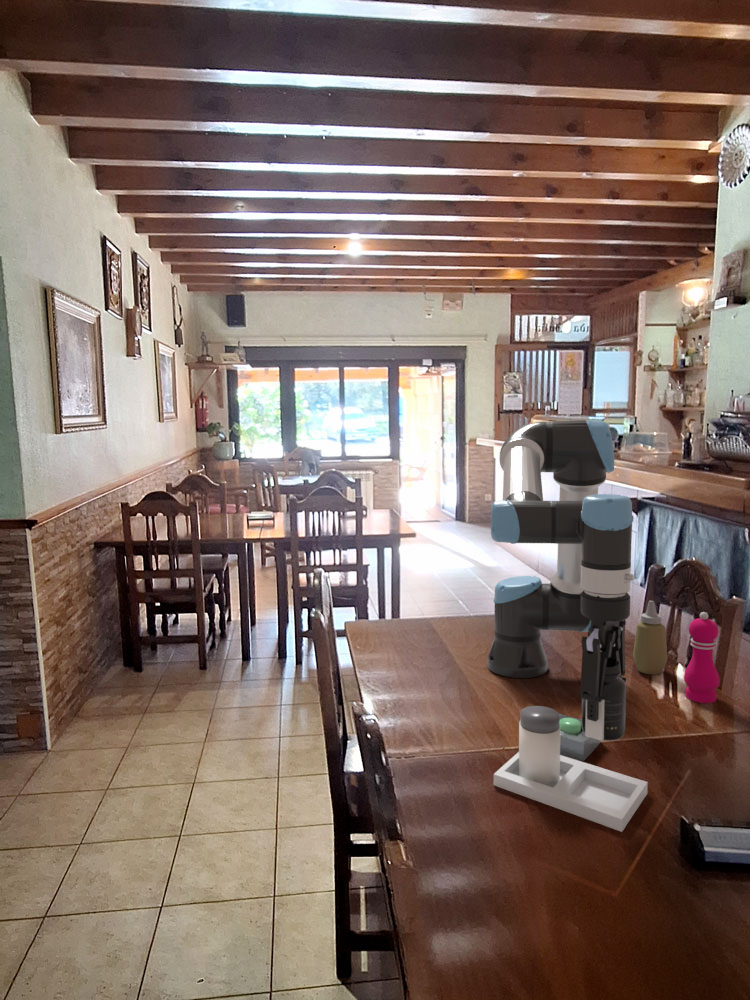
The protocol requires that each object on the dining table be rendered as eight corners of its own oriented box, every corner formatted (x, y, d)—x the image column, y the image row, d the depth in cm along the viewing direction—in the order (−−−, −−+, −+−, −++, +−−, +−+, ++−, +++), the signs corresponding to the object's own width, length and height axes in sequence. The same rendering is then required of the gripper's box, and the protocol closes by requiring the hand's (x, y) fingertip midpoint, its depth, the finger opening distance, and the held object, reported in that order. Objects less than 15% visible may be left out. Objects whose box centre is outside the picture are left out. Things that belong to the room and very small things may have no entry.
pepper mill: (723, 705, 145) (726, 617, 142) (687, 703, 146) (691, 616, 144) (713, 692, 152) (716, 608, 149) (679, 690, 153) (682, 607, 151)
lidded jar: (512, 781, 115) (512, 715, 114) (529, 764, 121) (529, 702, 119) (549, 794, 111) (550, 726, 110) (566, 776, 116) (567, 711, 115)
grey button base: (538, 749, 127) (538, 729, 127) (557, 731, 134) (557, 713, 134) (583, 763, 122) (583, 743, 121) (600, 744, 129) (601, 725, 128)
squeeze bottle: (665, 666, 168) (667, 598, 166) (668, 678, 160) (670, 606, 158) (631, 663, 170) (633, 596, 168) (633, 675, 163) (634, 604, 161)
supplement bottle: (574, 723, 111) (575, 654, 109) (613, 721, 111) (615, 653, 110) (591, 743, 104) (592, 669, 103) (632, 740, 104) (634, 667, 103)
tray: (493, 787, 114) (493, 774, 114) (526, 757, 124) (526, 744, 124) (621, 834, 101) (622, 819, 100) (647, 796, 111) (647, 782, 110)
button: (555, 739, 127) (556, 723, 127) (564, 731, 130) (564, 716, 130) (575, 745, 125) (576, 729, 125) (583, 736, 128) (584, 721, 128)
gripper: (607, 609, 95) (604, 760, 98) (648, 582, 110) (644, 713, 113) (557, 602, 100) (556, 745, 102) (603, 576, 115) (601, 702, 118)
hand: (602, 728), depth 108 cm, fingers closed on supplement bottle, 7 cm apart
